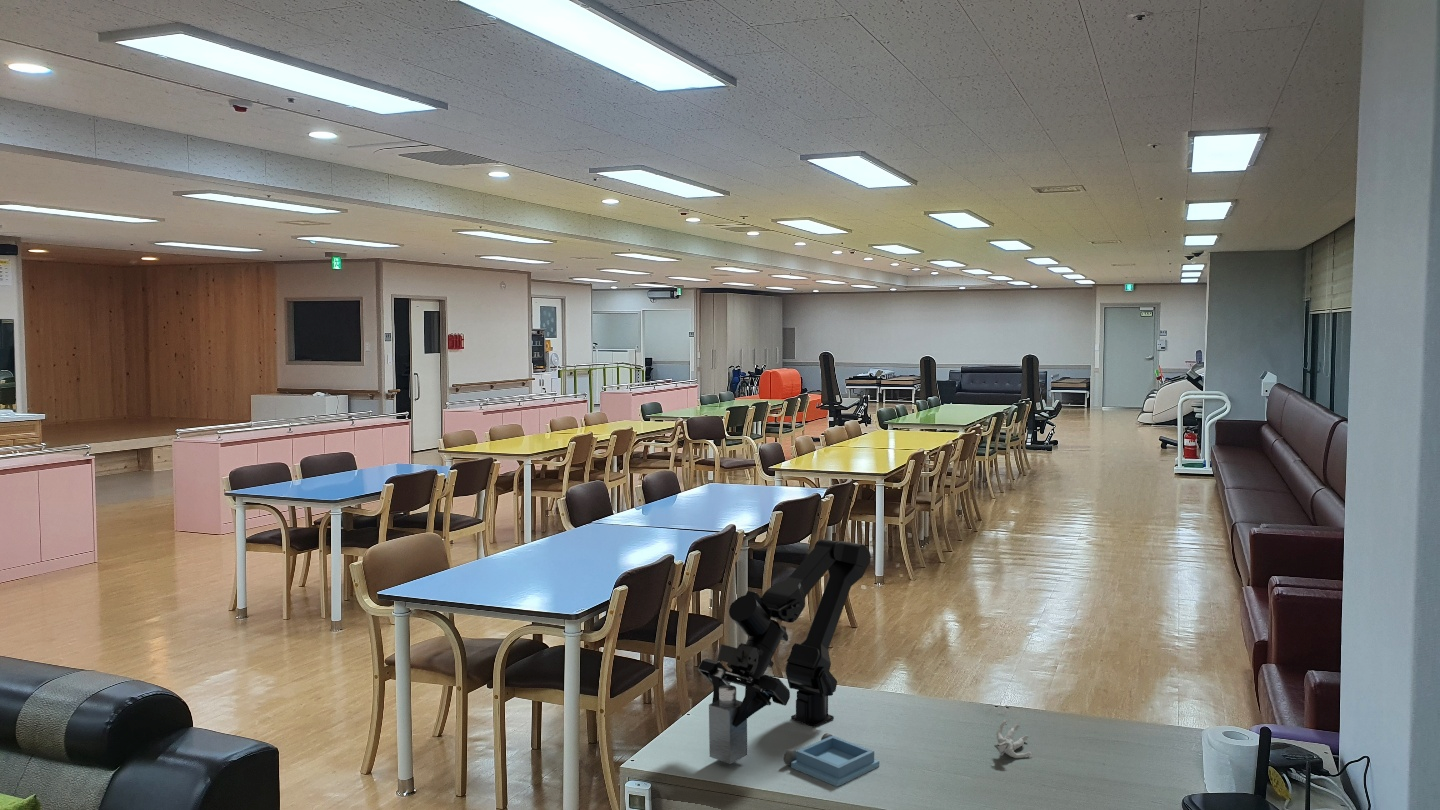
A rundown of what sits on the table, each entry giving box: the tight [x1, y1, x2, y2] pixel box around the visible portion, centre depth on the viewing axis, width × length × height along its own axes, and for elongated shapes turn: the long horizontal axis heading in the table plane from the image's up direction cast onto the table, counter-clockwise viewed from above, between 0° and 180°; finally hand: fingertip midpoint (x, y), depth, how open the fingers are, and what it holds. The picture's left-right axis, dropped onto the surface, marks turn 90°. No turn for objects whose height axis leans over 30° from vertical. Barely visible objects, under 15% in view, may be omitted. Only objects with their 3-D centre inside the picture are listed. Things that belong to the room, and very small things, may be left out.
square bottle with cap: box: [708, 684, 748, 765], centre depth 193 cm, size 5×5×13 cm
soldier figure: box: [993, 719, 1033, 759], centre depth 198 cm, size 8×5×12 cm
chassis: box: [782, 733, 880, 787], centre depth 192 cm, size 13×12×3 cm
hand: (723, 722), depth 192 cm, fingers closed on square bottle with cap, 5 cm apart
